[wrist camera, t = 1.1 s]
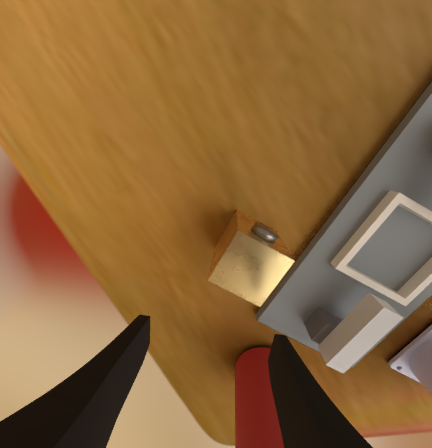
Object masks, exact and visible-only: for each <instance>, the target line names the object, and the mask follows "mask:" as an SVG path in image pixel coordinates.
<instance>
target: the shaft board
mask: <svg viewBox="0 0 432 448" xmlns="http://www.w3.org/2000/svg"><path fill="white" fill-rule="evenodd" d="M431 295H432V81H431V83H430V84H429V85H428V87H427V88H426V89H425V91H424V92H423V93H422V95H421V96H420V97H419V99H418V100H417V101H416V103H415V104H414V105H413V107H412V108H411V109H410V111H409V112H408V113H407V115H406V116H405V117H404V119H403V120H402V121H401V123H400V124H399V125H398V127H397V128H396V129H395V131H394V132H393V133H392V134H391V136H390V137H389V138H388V140H387V141H386V142H385V144H384V145H383V146H382V148H381V149H380V150H379V152H378V153H377V154H376V156H375V157H374V158H373V160H372V161H371V162H370V164H369V165H368V166H367V168H366V169H365V170H364V172H363V173H362V174H361V176H360V177H359V178H358V180H357V181H356V182H355V184H354V185H353V186H352V187H351V189H350V190H349V191H348V193H347V194H346V195H345V197H344V198H343V199H342V201H341V202H340V203H339V205H338V206H337V207H336V209H335V210H334V211H333V213H332V214H331V215H330V217H329V218H328V219H327V221H326V222H325V223H324V225H323V226H322V227H321V229H320V230H319V231H318V233H317V234H316V235H315V237H314V238H313V239H312V240H311V242H310V243H309V244H308V246H307V247H306V248H305V250H304V251H303V252H302V254H301V255H300V256H299V258H298V259H297V260H296V262H295V263H294V264H293V266H292V267H291V268H290V270H289V271H288V272H287V274H286V275H285V276H284V278H283V279H282V280H281V282H280V283H279V284H278V286H277V287H276V288H275V290H274V291H273V292H272V293H271V295H270V296H269V297H268V299H267V300H266V301H265V303H264V304H263V305H262V307H261V308H260V309H259V311H258V312H257V313H256V317H257V321H259V322H261V323H262V324H264V325H266V326H268V327H270V328H272V329H274V330H276V331H278V332H280V333H282V334H284V335H286V336H288V337H290V338H292V339H294V340H296V341H298V342H300V343H302V344H304V345H306V346H308V347H310V348H312V349H314V350H316V351H318V352H320V353H321V355H322V358H323V360H324V362H325V364H326V365H327V366H329V367H331V368H333V369H335V370H337V371H339V372H341V373H343V374H344V373H345V372H346V371H347V370H348V369H349V368H353V367H354V366H355V365H356V364H357V363H358V362H359V361H360V360H361V359H362V358H364V357H365V356H366V355H367V354H368V353H369V352H370V351H371V350H372V349H373V348H374V347H376V346H377V345H378V344H379V343H380V342H381V341H382V340H383V339H384V338H385V337H386V336H388V335H389V334H390V333H391V332H392V331H393V330H394V329H395V328H396V327H397V326H398V325H399V324H401V323H402V322H403V321H404V320H405V319H406V318H407V317H408V316H409V315H410V314H411V313H413V312H414V311H415V310H416V309H417V308H418V307H419V306H420V305H421V304H422V303H423V302H425V301H426V300H427V299H428V298H429V297H430V296H431Z"/></svg>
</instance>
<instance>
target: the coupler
mask: <svg viewBox="0 0 432 448" xmlns="http://www.w3.org/2000/svg"><path fill="white" fill-rule="evenodd" d="M294 262H295V260H294V259H293V257H292V255H291V254H290V252H289V251H288V249H287V247H286V246H285V244H284V243H283V241H282V239H281V238H280V236H279V234H278V233H277V231H275V230H273V229H271V228H269V227H268V226H266V225H264V224H262V223H260V222H258V221H256V220H254V219H253V218H251V217H249V216H247V215H245V214H243V213H242V212H240V211H238V210H236V212H235V213H234V215H233V217H232V218H231V220H230V222H229V224H228V225H227V227H226V229H225V230H224V232H223V234H222V236H221V237H220V239H219V241H218V243H217V244H216V246H215V249H214V254H213V258H212V263H211V267H210V272H209V277H208V281H210V282H212V283H214V284H216V285H217V286H219V287H221V288H223V289H225V290H227V291H229V292H231V293H233V294H235V295H237V296H239V297H241V298H243V299H245V300H247V301H249V302H251V303H253V304H255V305H257V306H259V307H261V305H262V304H263V303H264V301H265V300H266V299H267V298H268V296H269V295H270V294H271V292H272V291H273V290H274V288H275V287H276V286H277V284H278V283H279V282H280V280H281V279H282V278H283V276H284V275H285V274H286V272H287V271H288V270H289V268H290V267H291V266H292V264H293V263H294Z"/></svg>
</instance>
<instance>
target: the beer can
mask: <svg viewBox="0 0 432 448" xmlns="http://www.w3.org/2000/svg"><path fill="white" fill-rule="evenodd" d="M270 350H271V348H267V347H256V348H252V349H249V350H247V351H245V352H244V353H243V354H242V355H240V357H239V358H238V360H237V362H236V365H235V447H236V448H284V445H283V439H282V434H281V430H280V425H279V420H278V416H277V411H276V407H275V402H274V398H273V393H272V388H271V383H270V376H269V368H268V358H269V354H270Z"/></svg>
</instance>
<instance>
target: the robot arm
mask: <svg viewBox="0 0 432 448" xmlns="http://www.w3.org/2000/svg"><path fill="white" fill-rule="evenodd" d="M149 344H150V316H145V315H139V316H137V318H136V319H135V320H134V321H133V322H132V323H131V324H130V325H129V326H128V327H127V328H126V329H125V330H124V331H123V332H122V333H120V334H119V335H118V336H117V337H116V338H115V339H114V340H113V341H112V342H111V343H110V344H109V345H108V346H107V347H105V348H104V349H103V350H102V351H101V352H99V353H98V354H97V355H96V356H95V357H94V358H92V359H91V360H90V361H89V362H88V363H86V364H85V365H84V366H83V367H81V368H80V369H79V370H77V371H76V372H75V373H73V374H72V375H71V376H69V377H68V378H67V379H65V380H64V381H63V382H61V383H60V384H58V385H57V386H55V387H54V388H53V389H51V390H50V391H48V392H47V393H45V394H44V395H42V396H41V397H39V398H38V399H36V400H34V401H33V402H31V403H30V404H28V405H27V406H25V407H23V408H22V409H20V410H18V411H17V412H15V413H14V414H12V415H10V416H9V417H7V418H5V419H4V420H2V421H0V448H106V446H107V443H108V441H109V438H110V435H111V433H112V430H113V428H114V425H115V422H116V420H117V417H118V415H119V413H120V411H121V408H122V406H123V404H124V402H125V400H126V398H127V396H128V394H129V392H130V389H131V387H132V385H133V383H134V381H135V379H136V376H137V374H138V372H139V370H140V367H141V366H142V364H143V361H144V358H145V355H146V352H147V350H148V347H149ZM388 364H389V366H390V367H391V368H392V369H394V370H396V371H398V372H400V373H402V374H404V375H406V376H408V377H410V378H412V379H414V380H416V381H417V382H419V383H421V384H422V385H423V386H424V387H425V388H426V390H427V391H428V392H429V393H430V394H431V396H432V325H430V326H429V327H428V328H427V329H426V330H425V331H423V332H422V333H421V334H420V335H419V336H418V337H416V338H415V339H414V340H413V341H412V342H411V343H410V344H408V345H407V346H406V347H405V348H404V349H403V350H401V351H400V352H399V353H398V354H397V355H396V356H394V357H393V358H392V359H391V360H390V361H389V362H388ZM268 368H269V376H270V383H271V388H272V393H273V398H274V402H275V407H276V411H277V416H278V420H279V425H280V430H281V434H282V439H283V445H284V448H373V447H372V446H371V445H370V444H369V443H368V442H367V441H366V440H365V439H364V438H363V437H362V436H361V435H360V434H359V433H358V431H357V430H356V429H355V428H354V427H353V426H352V425H351V424H350V422H349V421H348V420H347V419H346V418H345V417H344V415H343V414H342V413H341V412H340V411H339V410H338V408H337V407H336V406H335V405H334V403H333V402H332V401H331V400H330V398H329V397H328V396H327V394H326V393H325V392H324V391H323V389H322V388H321V387H320V385H319V384H318V383H317V381H316V380H315V378H314V377H313V376H312V374H311V373H310V371H309V370H308V368H307V367H306V366H305V364H304V363H303V361H302V360H301V358H300V357H299V355H298V354H297V352H296V350H295V349H294V347H293V346H292V344H291V343H290V341H289V340H288V338H287V337H286V336H285V335H278V334H275V336H274V339H273V343H272V347H271V350H270V354H269V358H268Z"/></svg>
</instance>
